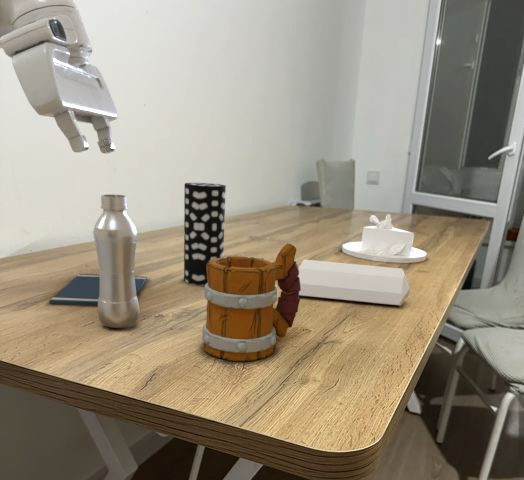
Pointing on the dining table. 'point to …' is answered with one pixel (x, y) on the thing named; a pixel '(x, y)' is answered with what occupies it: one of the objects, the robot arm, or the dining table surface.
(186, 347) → the dining table surface
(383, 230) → the dish
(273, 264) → the mug
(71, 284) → the towel
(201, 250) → the white-spotted black cylinder
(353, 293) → the white hexagonal prism
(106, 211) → the silver metal bottle
